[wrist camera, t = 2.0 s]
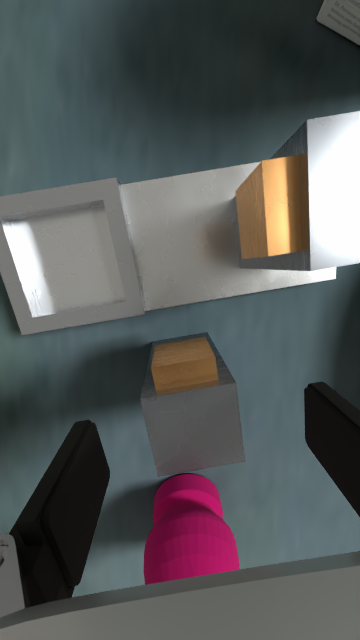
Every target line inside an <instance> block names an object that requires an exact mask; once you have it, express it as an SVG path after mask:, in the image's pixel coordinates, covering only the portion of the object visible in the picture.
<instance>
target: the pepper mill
mask: <svg viewBox="0 0 360 640" xmlns="http://www.w3.org/2000/svg"><path fill="white" fill-rule="evenodd" d="M222 516H223V512H222V506H221V502H220V497H219V493H218V490H217V488H216V487H215V485H214V484H213V483H212V482H211V481H210V480H208V479H207V478H205V477H203V476H200V475H196V474H181V475H176V476H174V477H172V478H170V479H168V480H167V481H165V482H164V483H163V484H162V485H161V486H160V487H159V488H158V490H157V492H156V494H155V497H154V509H153V523H154V527H153V528H152V530H151V532H150V534H149V536H148V538H147V541H146V544H145V551H144V578H145V585H148V584H154V583H160V582H166V581H172V580H178V579H184V578H190V577H196V576H203V575H209V574H215V573H222V572H228V571H234V570H240V569H239V559H238V553H237V547H236V541H235V538H234V535H233V533H232V531H231V529H230V528H229V526H228V525H227V524H226V523H225V522H224V521H223V519H222Z"/></svg>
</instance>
